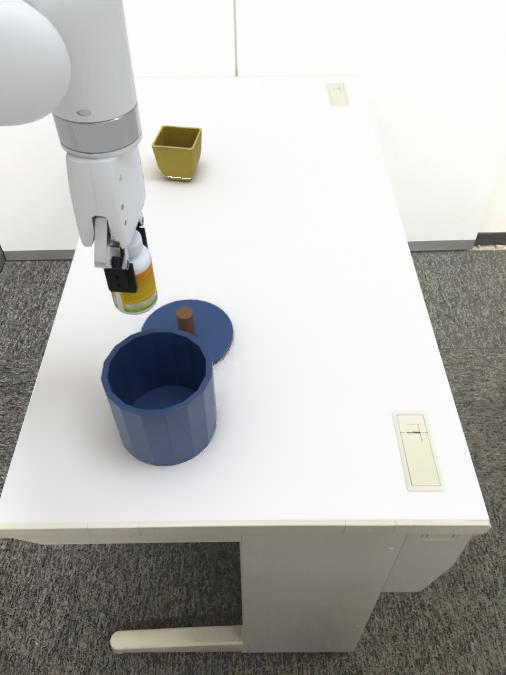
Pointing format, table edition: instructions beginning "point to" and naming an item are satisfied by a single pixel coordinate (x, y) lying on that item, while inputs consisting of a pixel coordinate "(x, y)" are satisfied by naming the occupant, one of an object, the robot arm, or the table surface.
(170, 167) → the flower pot
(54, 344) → the table surface
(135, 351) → the tin
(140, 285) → the supplement bottle
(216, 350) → the tin lid
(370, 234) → the table surface
